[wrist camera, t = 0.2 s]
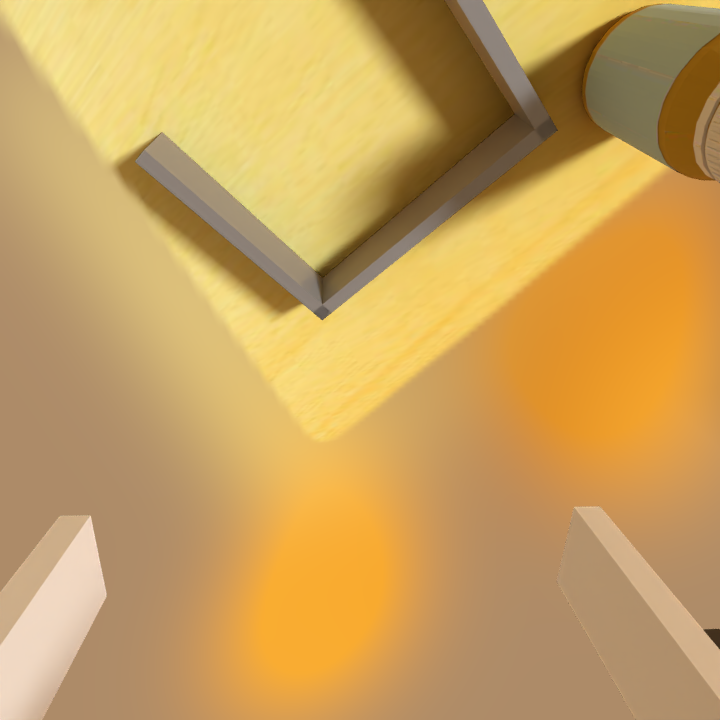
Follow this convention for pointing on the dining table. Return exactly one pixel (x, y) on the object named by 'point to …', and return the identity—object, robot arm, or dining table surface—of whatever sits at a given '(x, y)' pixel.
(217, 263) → the dining table surface
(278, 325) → the dining table surface
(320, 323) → the dining table surface
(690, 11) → the bottle
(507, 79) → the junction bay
